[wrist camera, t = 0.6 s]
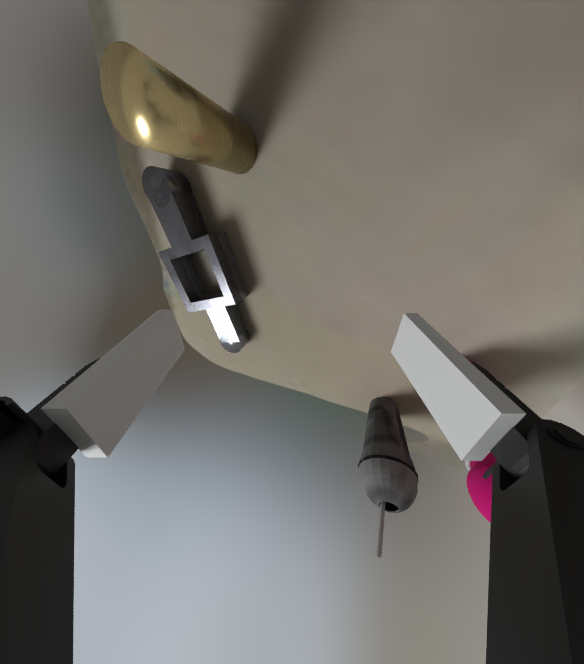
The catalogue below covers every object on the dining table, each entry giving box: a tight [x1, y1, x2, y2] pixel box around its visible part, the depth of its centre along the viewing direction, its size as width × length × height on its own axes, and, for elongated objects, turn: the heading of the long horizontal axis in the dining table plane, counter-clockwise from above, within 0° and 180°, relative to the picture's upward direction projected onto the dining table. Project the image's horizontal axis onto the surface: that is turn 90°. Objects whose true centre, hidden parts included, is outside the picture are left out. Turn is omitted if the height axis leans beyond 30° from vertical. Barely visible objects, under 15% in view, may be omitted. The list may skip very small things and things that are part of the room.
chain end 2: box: [180, 232, 249, 353], centre depth 36 cm, size 19×10×3 cm, turn 16°
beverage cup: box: [358, 397, 418, 558], centre depth 29 cm, size 7×7×20 cm
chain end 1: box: [142, 166, 242, 312], centre depth 32 cm, size 19×10×4 cm, turn 16°
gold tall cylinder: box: [100, 41, 257, 174], centre depth 20 cm, size 5×5×14 cm
